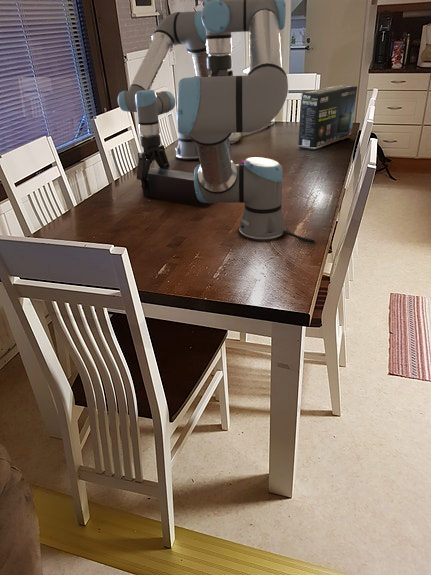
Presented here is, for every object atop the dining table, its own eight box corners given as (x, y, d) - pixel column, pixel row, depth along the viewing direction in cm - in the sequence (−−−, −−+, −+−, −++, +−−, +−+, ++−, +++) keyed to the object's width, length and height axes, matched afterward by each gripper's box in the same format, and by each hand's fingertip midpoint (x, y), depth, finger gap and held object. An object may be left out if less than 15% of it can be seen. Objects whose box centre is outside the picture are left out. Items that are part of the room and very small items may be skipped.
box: (214, 201, 176) (214, 175, 171) (204, 207, 170) (203, 181, 165) (155, 190, 188) (153, 167, 183) (144, 196, 183) (141, 172, 178)
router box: (314, 151, 231) (318, 94, 217) (296, 148, 237) (299, 92, 224) (352, 138, 251) (358, 85, 238) (335, 135, 258) (340, 83, 245)
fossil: (234, 138, 244) (215, 120, 247) (224, 155, 250) (206, 137, 254) (251, 137, 258) (232, 120, 261) (240, 153, 264) (223, 136, 267)
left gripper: (160, 127, 182) (165, 181, 194) (121, 141, 165) (129, 199, 177) (175, 129, 179) (179, 183, 190) (138, 143, 162) (145, 202, 173)
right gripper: (225, 51, 147) (227, 121, 158) (187, 58, 128) (191, 136, 139) (247, 51, 144) (247, 122, 155) (211, 58, 125) (213, 137, 136)
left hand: (155, 191), depth 184 cm, fingers open, 11 cm apart
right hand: (221, 129), depth 147 cm, fingers open, 13 cm apart
